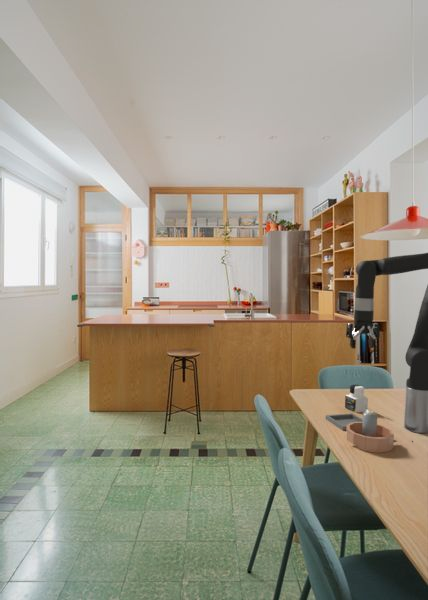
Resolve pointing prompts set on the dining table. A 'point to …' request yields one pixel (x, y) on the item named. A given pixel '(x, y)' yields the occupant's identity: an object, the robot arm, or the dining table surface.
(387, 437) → the bowl
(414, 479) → the dining table surface
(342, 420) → the parts tray
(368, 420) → the pebble cup
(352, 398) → the medicine bottle
